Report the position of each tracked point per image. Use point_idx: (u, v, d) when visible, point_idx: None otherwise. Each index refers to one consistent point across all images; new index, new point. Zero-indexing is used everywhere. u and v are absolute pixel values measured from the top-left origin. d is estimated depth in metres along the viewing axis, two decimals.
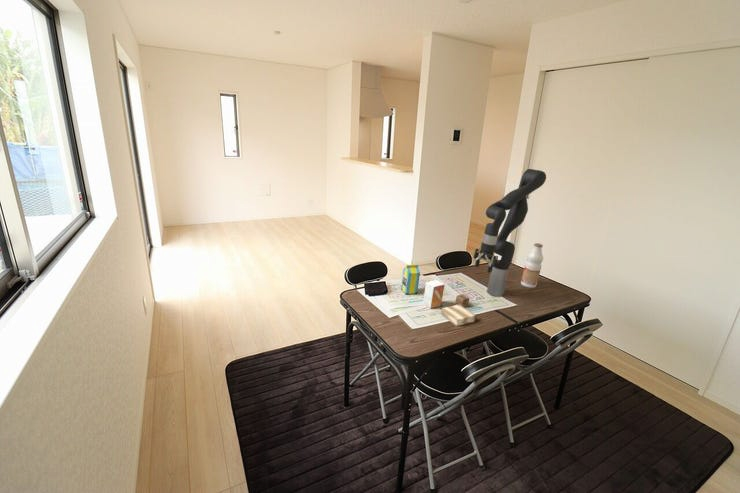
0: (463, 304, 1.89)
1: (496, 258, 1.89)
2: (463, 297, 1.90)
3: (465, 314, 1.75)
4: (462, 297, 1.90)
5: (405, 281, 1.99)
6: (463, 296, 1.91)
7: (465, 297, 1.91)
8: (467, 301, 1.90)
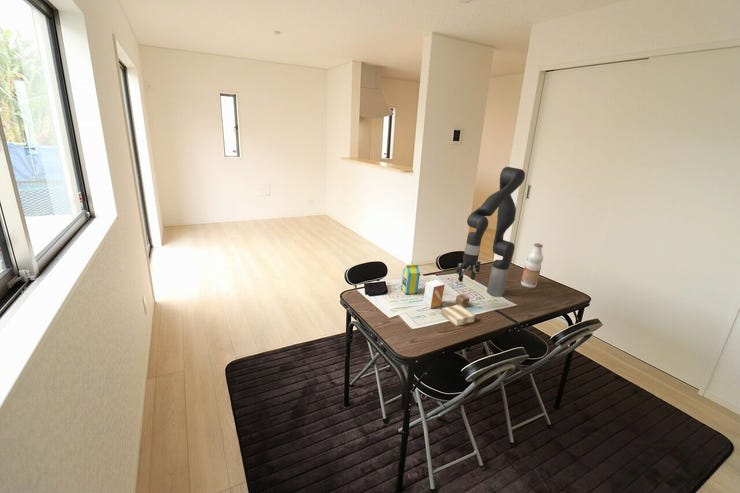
0: (463, 304, 1.89)
1: None
2: (463, 298, 1.90)
3: (465, 314, 1.75)
4: (462, 297, 1.90)
5: (405, 281, 1.99)
6: (463, 296, 1.91)
7: (465, 297, 1.91)
8: (467, 301, 1.90)
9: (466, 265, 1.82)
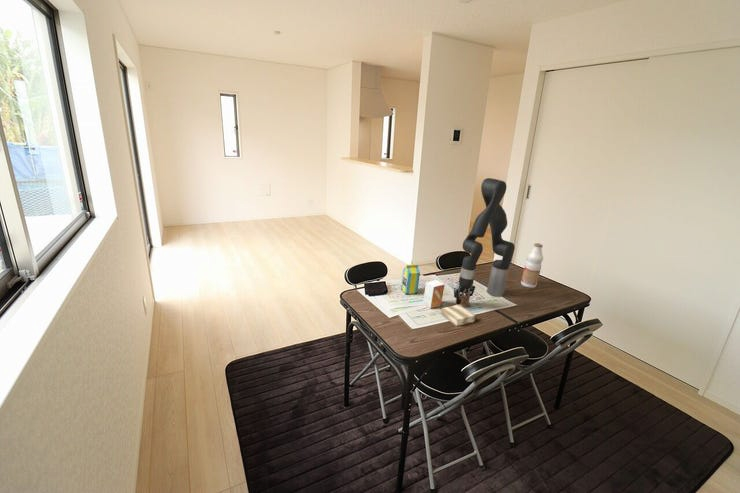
0: (463, 304, 1.89)
1: None
2: (463, 297, 1.90)
3: (465, 314, 1.75)
4: (462, 297, 1.90)
5: (405, 281, 1.99)
6: (463, 296, 1.91)
7: (465, 297, 1.91)
8: (467, 301, 1.90)
9: (461, 289, 1.87)
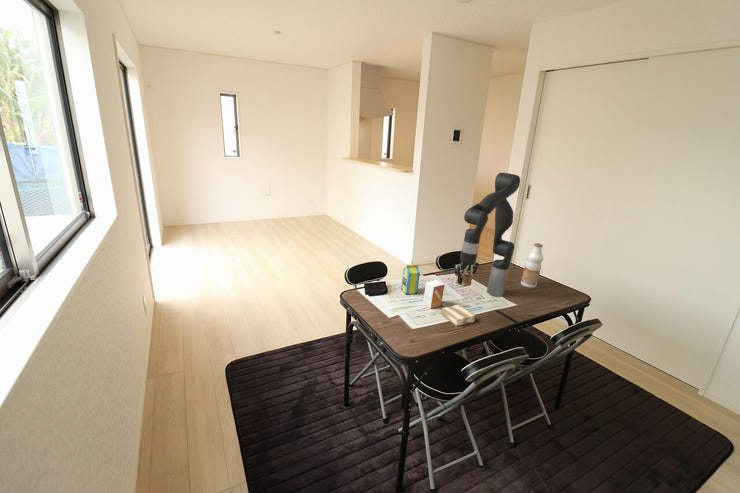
0: (465, 282, 1.69)
1: None
2: (465, 275, 1.70)
3: (465, 314, 1.75)
4: (464, 275, 1.70)
5: (405, 281, 1.99)
6: (465, 274, 1.71)
7: (467, 275, 1.71)
8: (470, 279, 1.70)
9: (463, 266, 1.67)
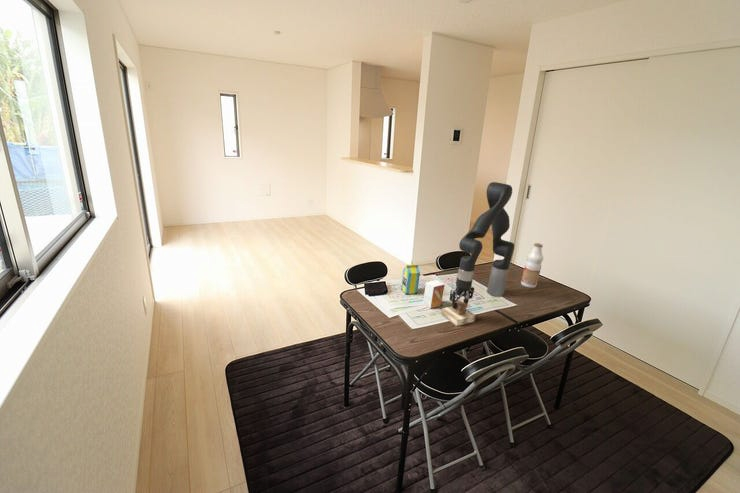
0: (460, 311, 1.75)
1: None
2: (460, 304, 1.75)
3: (465, 315, 1.75)
4: (459, 304, 1.75)
5: (405, 281, 1.99)
6: (460, 303, 1.76)
7: (462, 303, 1.76)
8: (464, 308, 1.75)
9: (459, 292, 1.71)
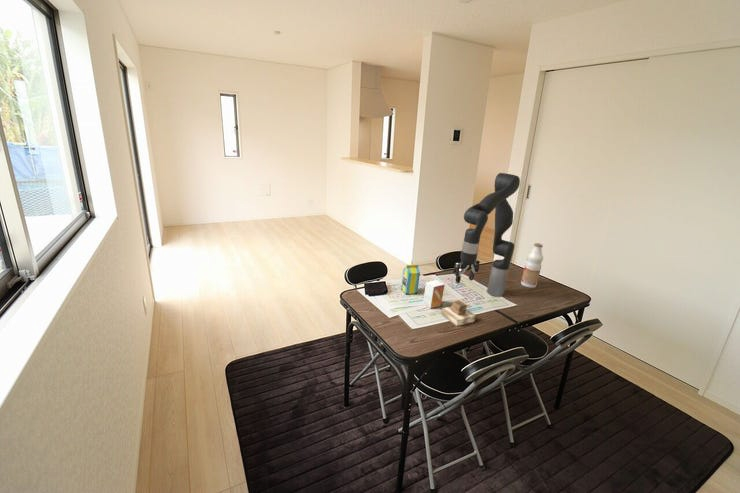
0: (460, 311, 1.74)
1: None
2: (460, 304, 1.75)
3: (466, 315, 1.75)
4: (459, 304, 1.75)
5: (405, 281, 1.99)
6: (460, 303, 1.76)
7: (462, 303, 1.76)
8: (464, 308, 1.75)
9: (464, 265, 1.67)
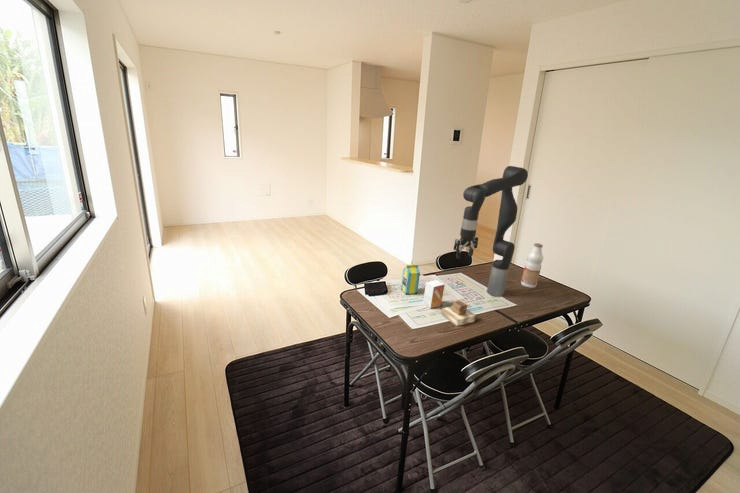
0: (460, 311, 1.74)
1: None
2: (460, 304, 1.75)
3: (466, 314, 1.75)
4: (459, 304, 1.75)
5: (405, 281, 1.99)
6: (461, 303, 1.76)
7: (462, 303, 1.76)
8: (465, 308, 1.75)
9: (463, 241, 1.76)
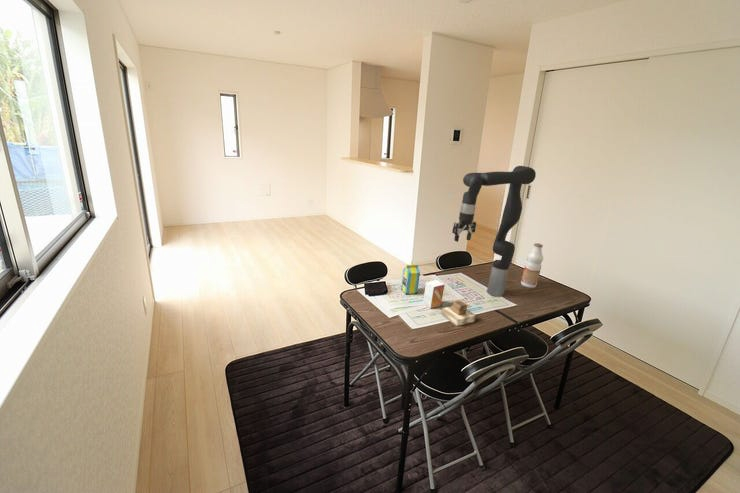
0: (460, 311, 1.74)
1: None
2: (460, 304, 1.75)
3: (466, 314, 1.75)
4: (459, 304, 1.75)
5: (405, 281, 1.99)
6: (461, 303, 1.76)
7: (462, 303, 1.76)
8: (465, 308, 1.75)
9: (462, 224, 1.85)
